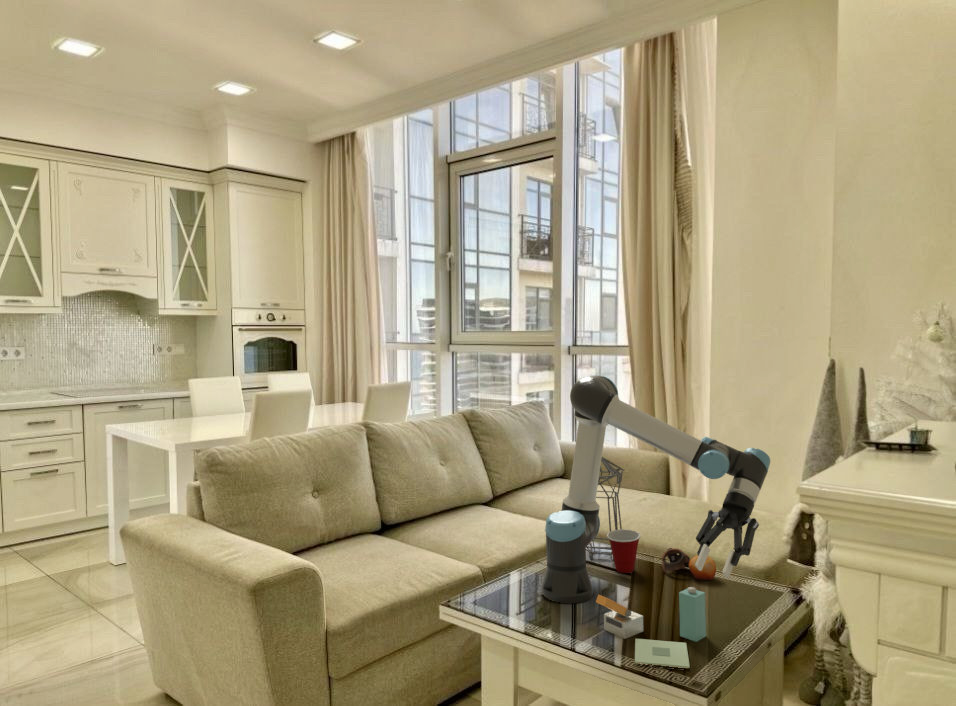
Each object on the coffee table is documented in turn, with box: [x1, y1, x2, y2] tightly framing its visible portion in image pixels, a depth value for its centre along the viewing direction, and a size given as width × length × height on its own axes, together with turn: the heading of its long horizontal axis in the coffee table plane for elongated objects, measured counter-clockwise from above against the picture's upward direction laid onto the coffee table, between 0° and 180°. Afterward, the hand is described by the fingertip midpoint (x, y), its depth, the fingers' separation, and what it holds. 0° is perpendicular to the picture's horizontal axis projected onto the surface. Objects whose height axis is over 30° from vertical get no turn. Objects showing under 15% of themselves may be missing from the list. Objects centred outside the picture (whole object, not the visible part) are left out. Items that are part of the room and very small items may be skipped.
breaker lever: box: [595, 594, 632, 617], centre depth 165 cm, size 2×4×10 cm
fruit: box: [688, 555, 717, 581], centre depth 203 cm, size 8×8×8 cm
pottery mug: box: [661, 547, 691, 573], centre depth 211 cm, size 12×10×8 cm
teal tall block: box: [678, 586, 707, 643], centre depth 163 cm, size 4×4×12 cm
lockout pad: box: [634, 638, 691, 669], centre depth 153 cm, size 12×12×1 cm
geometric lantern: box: [586, 456, 625, 561], centre depth 227 cm, size 16×16×35 cm
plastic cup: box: [606, 528, 641, 574], centre depth 212 cm, size 11×11×12 cm
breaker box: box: [603, 610, 644, 640], centre depth 167 cm, size 7×7×4 cm
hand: (711, 571), depth 169 cm, fingers open, 7 cm apart
